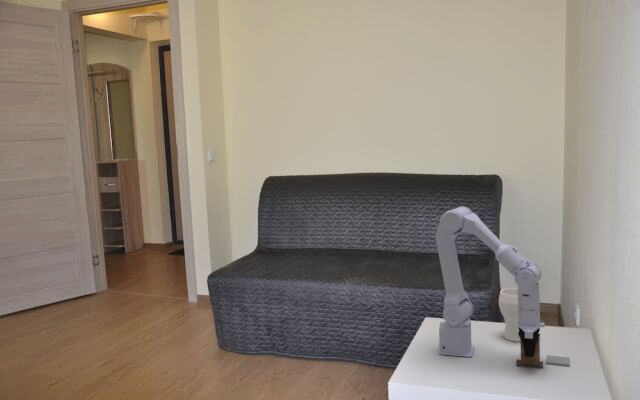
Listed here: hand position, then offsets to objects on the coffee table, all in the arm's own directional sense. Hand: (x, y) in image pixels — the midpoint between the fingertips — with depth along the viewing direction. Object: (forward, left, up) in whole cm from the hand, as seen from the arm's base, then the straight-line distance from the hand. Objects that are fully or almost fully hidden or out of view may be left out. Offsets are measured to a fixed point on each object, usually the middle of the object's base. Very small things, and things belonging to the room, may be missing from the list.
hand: (529, 354), depth 154 cm
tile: (+4, +4, -3) cm, 6 cm away
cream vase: (-4, +21, -3) cm, 22 cm away
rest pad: (0, 0, -3) cm, 3 cm away
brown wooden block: (0, 0, -2) cm, 3 cm away
